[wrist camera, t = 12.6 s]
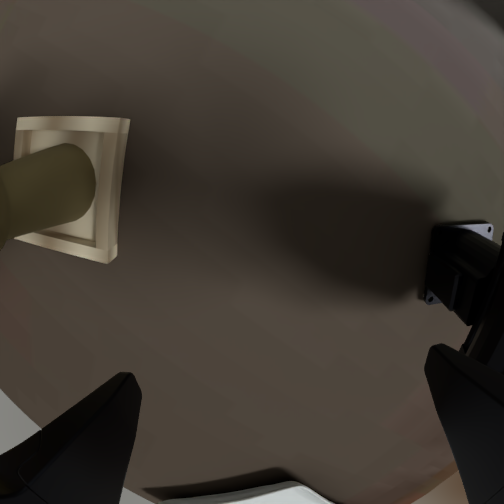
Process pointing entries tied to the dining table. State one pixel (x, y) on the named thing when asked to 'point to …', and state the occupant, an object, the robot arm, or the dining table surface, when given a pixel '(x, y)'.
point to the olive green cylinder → (45, 190)
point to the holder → (106, 173)
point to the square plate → (260, 496)
